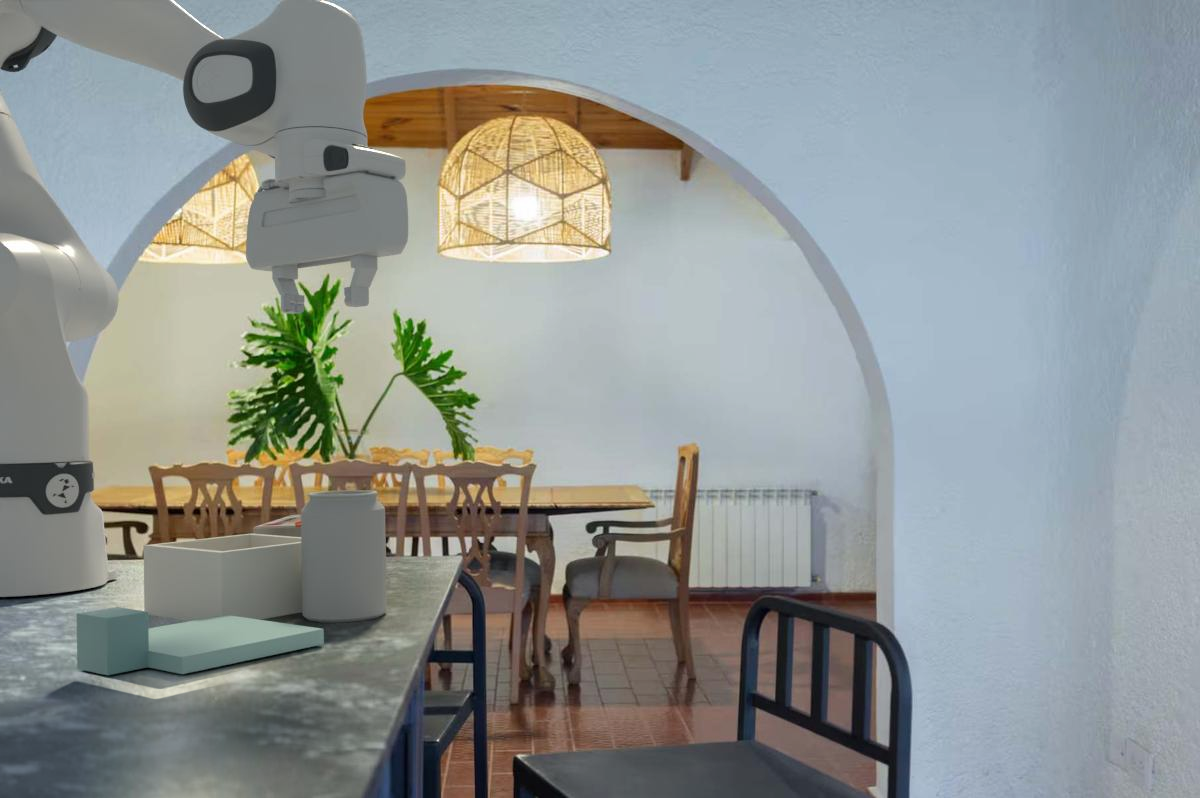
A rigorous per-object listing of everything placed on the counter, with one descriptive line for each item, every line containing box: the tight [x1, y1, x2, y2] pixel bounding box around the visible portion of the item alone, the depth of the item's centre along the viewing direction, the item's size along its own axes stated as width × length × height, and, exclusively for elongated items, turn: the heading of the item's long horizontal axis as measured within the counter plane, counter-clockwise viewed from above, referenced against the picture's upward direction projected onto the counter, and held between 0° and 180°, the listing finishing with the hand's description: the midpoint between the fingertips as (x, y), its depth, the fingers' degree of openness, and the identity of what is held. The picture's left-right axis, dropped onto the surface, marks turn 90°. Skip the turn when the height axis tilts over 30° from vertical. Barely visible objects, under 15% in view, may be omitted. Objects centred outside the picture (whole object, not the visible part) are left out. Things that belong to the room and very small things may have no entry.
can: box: [300, 489, 388, 624], centre depth 106 cm, size 8×8×12 cm
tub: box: [143, 533, 302, 622], centre depth 110 cm, size 12×12×7 cm
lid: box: [76, 606, 325, 676], centre depth 89 cm, size 13×16×5 cm
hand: (324, 309), depth 113 cm, fingers open, 8 cm apart
